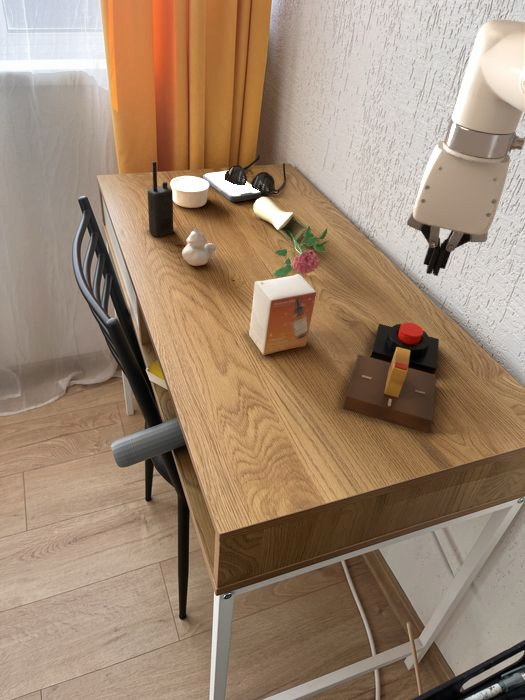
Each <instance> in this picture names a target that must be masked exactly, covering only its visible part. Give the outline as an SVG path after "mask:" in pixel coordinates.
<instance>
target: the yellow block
mask: <svg viewBox="0 0 525 700" xmlns="http://www.w3.org/2000/svg"><path fill="white" fill-rule="evenodd" d="M409 358H410V350H407V349H404V348H400V347H396V350H395V353H394V356H393V359H392V362H391V365H390V368H389V371H388V376H387V381H386V387H385V392H384V394H386V395H390V396H393V397H397V398H398V397H399V394H400V391H401V388H402V386H403V383H404V380H405V377H406V375H407V372H408V365H409Z"/></svg>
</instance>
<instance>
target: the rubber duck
mask: <svg viewBox="0 0 525 700" xmlns="http://www.w3.org/2000/svg"><path fill="white" fill-rule="evenodd" d="M185 241H186V242H187V244H186V245H185V247H184V248H183V249H182V252H181V255H182V258H183V259H184V261H185V262H186V263H187V264H189V265H190V266H193V267H194V266H195V267H199V266H204V265H207V263H208V261H209V260H210V259H212V258H215V256H216V250H217V245H216V244H215V243H212V242H211V243H207V237H206V236H205V234H204V233H203V232H202V231H201V230H199V228H197V226H196V225H195V226H194V229H193V230H192V231H191V232H190V234H189V236H188V237H187V238H186V240H185ZM206 243H207V244H206Z"/></svg>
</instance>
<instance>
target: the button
mask: <svg viewBox="0 0 525 700" xmlns="http://www.w3.org/2000/svg"><path fill="white" fill-rule="evenodd" d="M401 324H402V325H401V326H400V329H399V332H398V338H399V339H400V340H401V341H403V342H404V343H407V344H411V345H414V344H418V343H419V342H420V340H421V338H422V335H423V331H424V329H423V328H422V327H421V326H420V325H418V324H416V323H414V322H404V323H401Z"/></svg>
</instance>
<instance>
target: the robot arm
mask: <svg viewBox="0 0 525 700" xmlns="http://www.w3.org/2000/svg"><path fill="white" fill-rule="evenodd" d="M523 113H524V114H525V22H524V21H519V20H511V19H492V20H488V21H487V22H485V23H483V25H482V26H481V27H480V29H479V30H478V32H477V35H476V37H475V40H474V43H473V46H472V50H471V52H470V56H469V59H468V62H467V65H466V69H465V72H464V75H463V78H462V82H461V85H460V88H459V92H458V95H457V99H456V102H455V105H454V107H453V112H452V113H451V114H452V115H451V118H450V121H449V124H448V128H447V131H446V134H445V138H444V140H441V141H438V142H437V143H436V145H435V146H434V149H433V150H432V153H431V155H430V157H429V160H428V162H427V164H426V167H425V169H424V171H423V175H422V177H421V180H420V183H419V187H418V190H417V192H416V196H415V199H414V202H413V209H412V211H411V212H410V214H409V215H408V217H407V221H406V225H407V226H408V227H410V228H413V229H414V230H417V231H419V232H421V234H422V235H423V237H424V238H425V240H426V242H427V243H428V247H427V250H426V253H425V256H424V260H423V265H425V266H426V275H427V274H428V275H431V274H432V275H433V276H436V277H438V276H439V273H440V270H441V269H443V270H445V269H446V267H447V264H448V262H449V258H450V256H451V253H452V252H454V251H455V250H456V249H457V248H459V247H461V246H463V245H465V244H467V243H485V242H487V240H488V234H489V230H490V228H491V226H492V224H493V221H494V219H495V216H496V213H497V210H498V207H499V204H500V201H501V198H502V195H503V192H504V188H505V185H506V181H507V177H508V172H509V168H510V162H511V156H510V155H509V153H510V152H511V151H515V150H517V151H522V150H523V148H524V145H525V138H524V137H520V136H519V135H517V133H516V130H517V128H518V125H519V122H520V120H521V118H522V115H523ZM441 229H443V230H448V231H450V232H449V234H448V235H447V237H446V239H444V240H443V241H442V242H441V238H440V233H441Z"/></svg>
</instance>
